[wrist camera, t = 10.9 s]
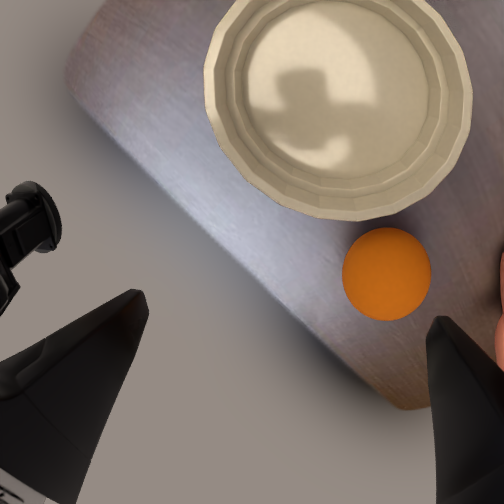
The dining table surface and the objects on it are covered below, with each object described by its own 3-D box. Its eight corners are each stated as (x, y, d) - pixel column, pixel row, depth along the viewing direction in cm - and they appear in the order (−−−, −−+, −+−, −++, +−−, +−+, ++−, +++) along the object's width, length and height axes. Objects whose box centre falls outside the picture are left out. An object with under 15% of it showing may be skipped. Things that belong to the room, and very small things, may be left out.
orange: (335, 280, 23) (337, 337, 18) (344, 208, 20) (353, 255, 15) (407, 285, 22) (424, 340, 17) (425, 216, 19) (455, 263, 14)
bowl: (231, 186, 21) (211, 212, 17) (224, -10, 14) (200, -30, 10) (427, 201, 19) (450, 231, 15) (440, 8, 12) (470, -6, 8)
